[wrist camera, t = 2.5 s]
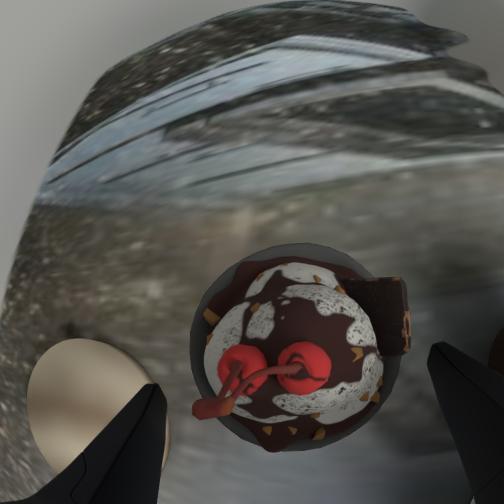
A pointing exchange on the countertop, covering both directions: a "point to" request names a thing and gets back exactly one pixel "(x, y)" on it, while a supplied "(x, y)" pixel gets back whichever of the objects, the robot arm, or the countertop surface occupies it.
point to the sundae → (297, 346)
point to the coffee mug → (497, 354)
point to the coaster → (80, 396)
